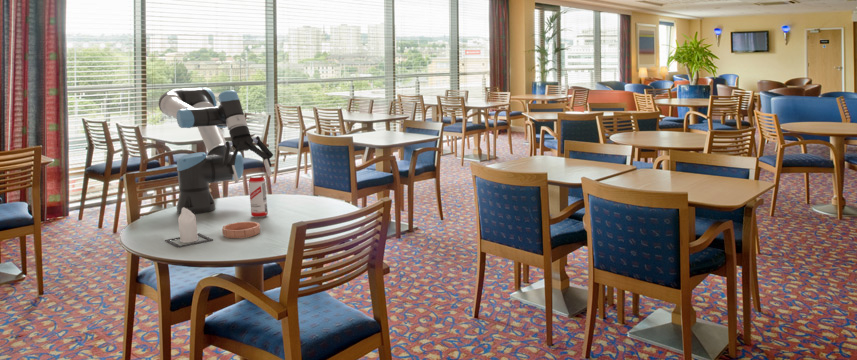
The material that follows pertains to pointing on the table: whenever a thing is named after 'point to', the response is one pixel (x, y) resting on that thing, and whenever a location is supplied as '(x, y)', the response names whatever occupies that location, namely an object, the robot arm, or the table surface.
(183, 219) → the white tapered upright piece
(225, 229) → the bowl
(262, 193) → the beer can
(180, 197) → the robot arm
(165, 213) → the table surface
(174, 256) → the table surface
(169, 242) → the dark grey square frame
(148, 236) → the table surface
